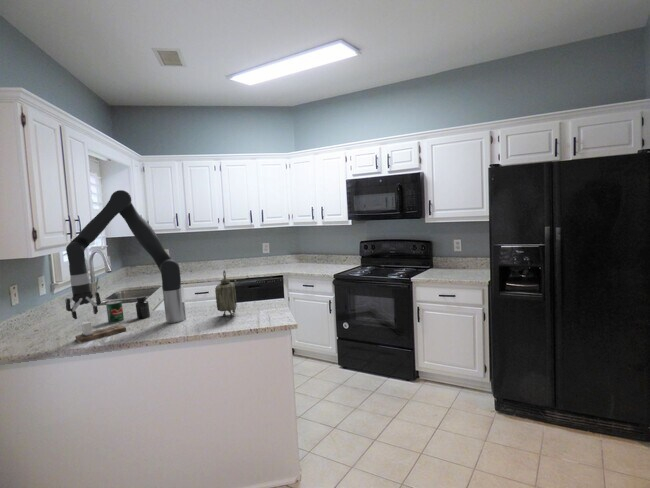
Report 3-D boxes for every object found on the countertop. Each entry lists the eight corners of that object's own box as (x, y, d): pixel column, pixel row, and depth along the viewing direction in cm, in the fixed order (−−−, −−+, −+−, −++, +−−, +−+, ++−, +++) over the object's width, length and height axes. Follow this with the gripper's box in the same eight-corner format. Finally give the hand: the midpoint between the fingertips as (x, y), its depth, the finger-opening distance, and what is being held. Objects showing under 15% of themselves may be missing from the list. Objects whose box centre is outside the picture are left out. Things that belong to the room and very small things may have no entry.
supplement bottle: (152, 315, 225) (149, 295, 224) (147, 318, 218) (144, 297, 217) (140, 316, 225) (137, 296, 224) (135, 319, 218) (132, 298, 217)
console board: (119, 328, 202) (119, 324, 201) (126, 330, 196) (125, 326, 195) (75, 339, 187) (75, 335, 187) (81, 343, 181) (81, 338, 181)
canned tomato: (117, 323, 213) (114, 303, 212) (105, 323, 215) (102, 304, 214) (127, 319, 221) (124, 300, 220) (115, 319, 222) (112, 300, 221)
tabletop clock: (235, 318, 203) (230, 271, 201) (218, 320, 202) (213, 273, 200) (237, 311, 217) (233, 267, 215) (221, 313, 216) (216, 269, 214)
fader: (88, 332, 190) (87, 321, 190) (93, 334, 185) (91, 322, 185) (81, 334, 188) (80, 322, 187) (86, 336, 183) (84, 324, 183)
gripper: (94, 280, 192) (99, 311, 194) (60, 286, 182) (66, 319, 183) (99, 280, 187) (104, 313, 189) (65, 287, 177) (71, 321, 178)
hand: (85, 316), depth 186 cm, fingers open, 8 cm apart
